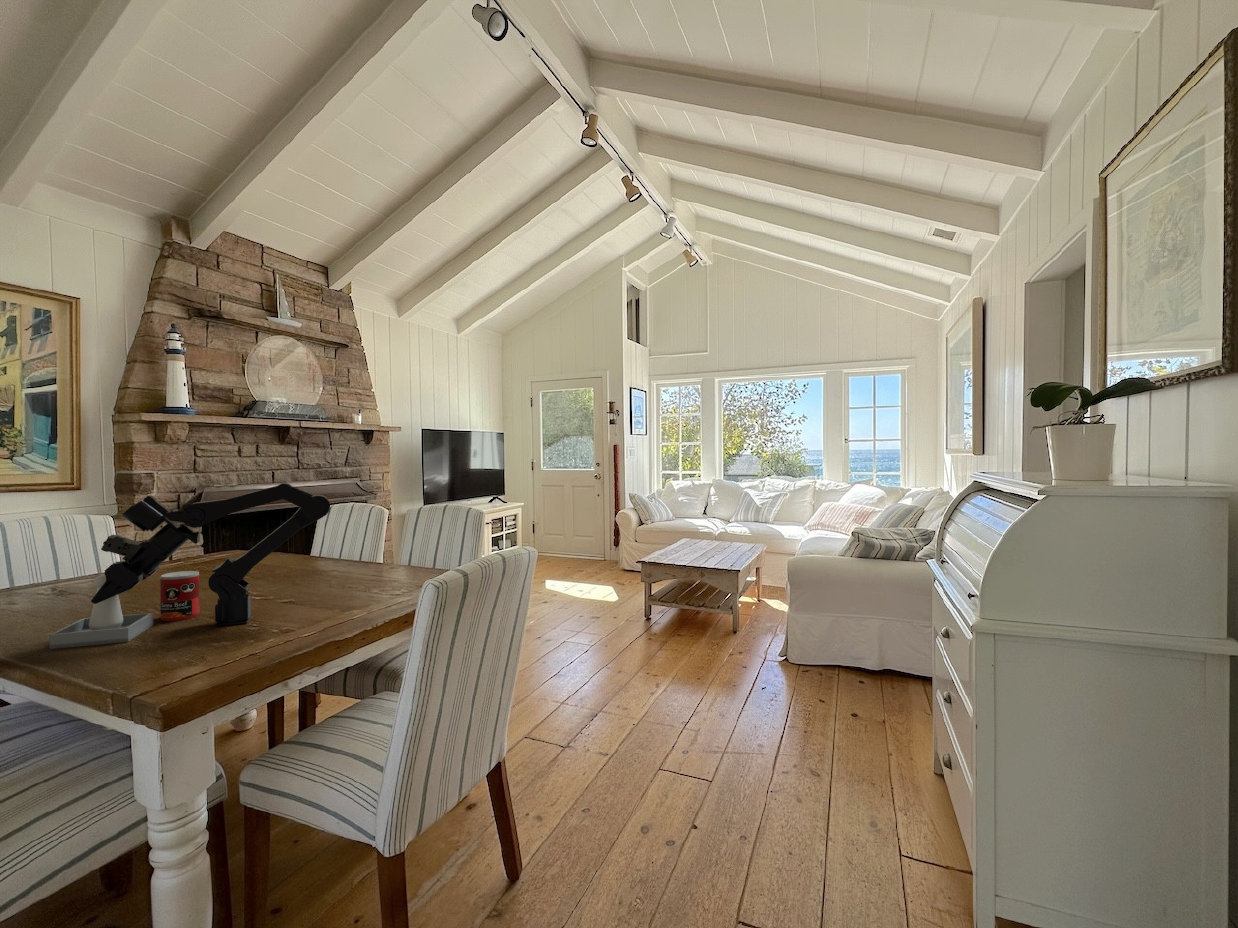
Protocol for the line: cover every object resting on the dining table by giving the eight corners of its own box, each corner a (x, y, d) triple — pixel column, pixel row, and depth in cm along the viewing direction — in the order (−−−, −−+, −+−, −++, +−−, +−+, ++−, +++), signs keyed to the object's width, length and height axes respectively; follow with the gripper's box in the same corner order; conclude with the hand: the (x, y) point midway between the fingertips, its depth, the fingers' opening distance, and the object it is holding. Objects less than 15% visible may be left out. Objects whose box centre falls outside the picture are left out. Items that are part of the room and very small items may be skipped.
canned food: (153, 622, 137) (153, 577, 137) (171, 613, 145) (171, 571, 145) (189, 620, 139) (189, 576, 139) (205, 612, 147) (205, 570, 147)
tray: (153, 625, 135) (153, 612, 135) (128, 641, 122) (128, 627, 122) (83, 631, 130) (82, 618, 130) (49, 649, 118) (49, 634, 118)
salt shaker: (91, 638, 122) (91, 578, 122) (85, 633, 126) (86, 575, 126) (126, 631, 127) (126, 574, 127) (120, 627, 130) (120, 571, 130)
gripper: (141, 518, 136) (81, 568, 131) (117, 526, 120) (47, 583, 115) (182, 548, 140) (125, 597, 135) (164, 559, 124) (98, 616, 118)
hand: (100, 598), depth 126 cm, fingers open, 9 cm apart
